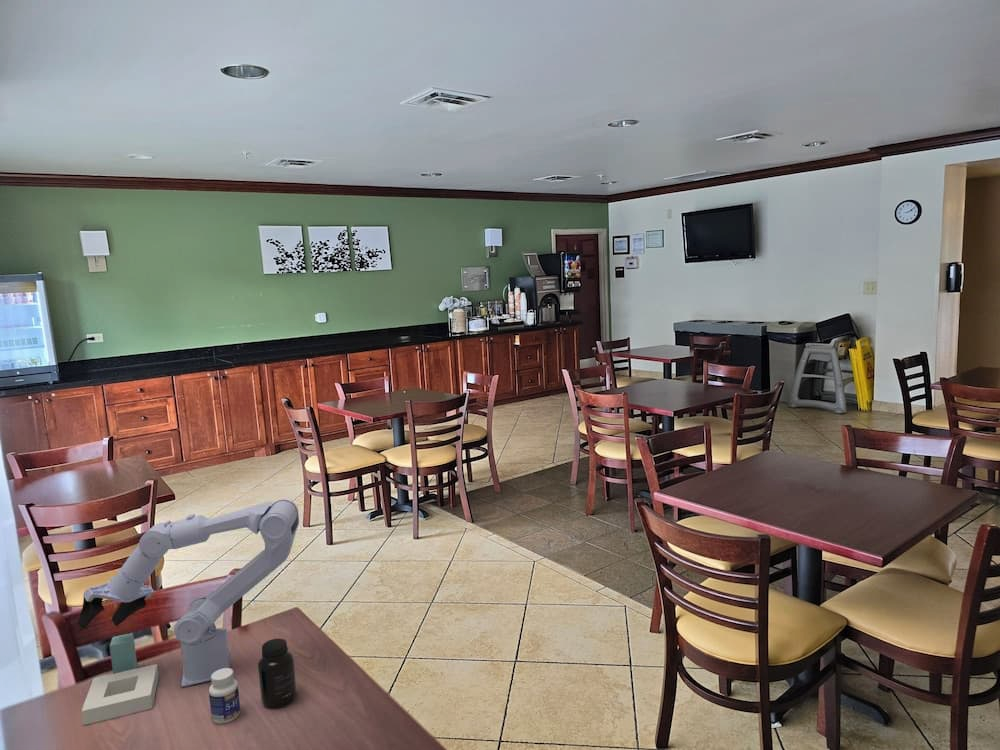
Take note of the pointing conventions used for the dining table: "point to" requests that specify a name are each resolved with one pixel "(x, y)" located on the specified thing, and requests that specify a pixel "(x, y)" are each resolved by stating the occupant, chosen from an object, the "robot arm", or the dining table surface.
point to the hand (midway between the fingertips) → (98, 623)
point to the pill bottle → (224, 696)
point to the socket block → (107, 706)
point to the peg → (123, 653)
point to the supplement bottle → (276, 674)
